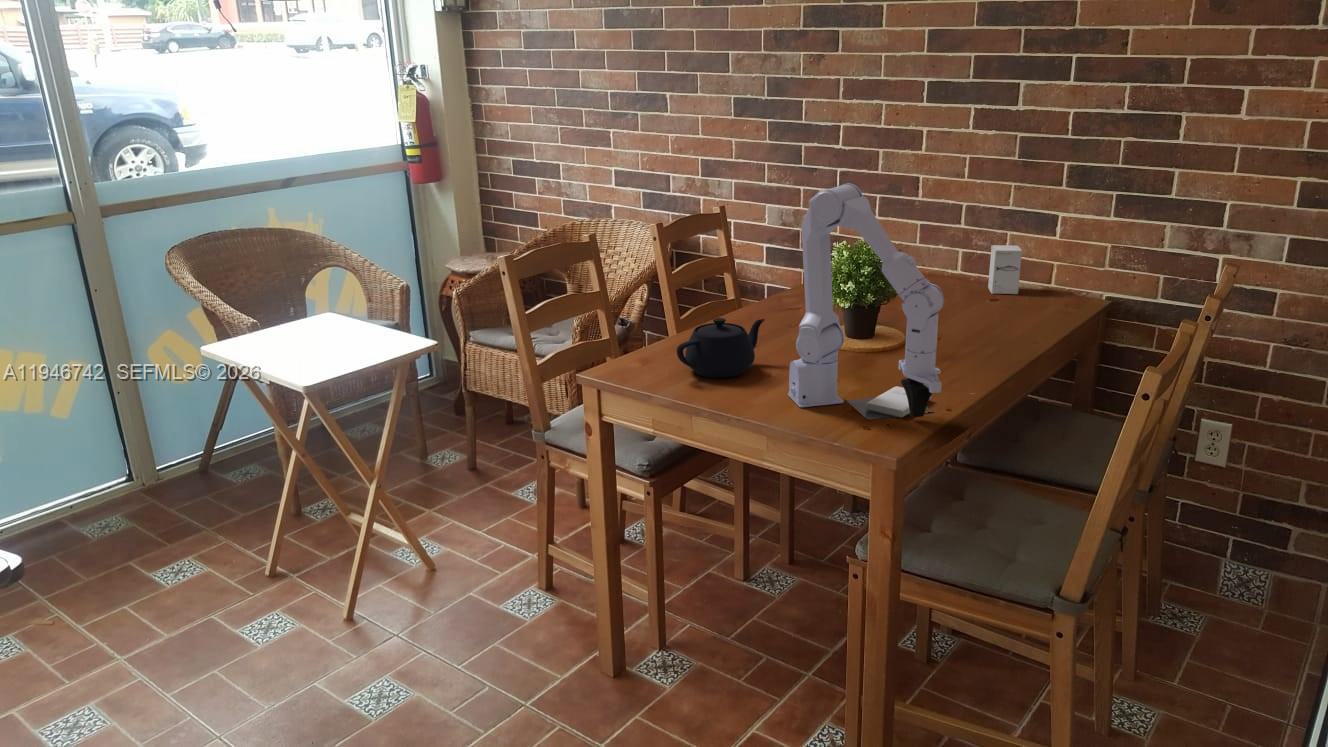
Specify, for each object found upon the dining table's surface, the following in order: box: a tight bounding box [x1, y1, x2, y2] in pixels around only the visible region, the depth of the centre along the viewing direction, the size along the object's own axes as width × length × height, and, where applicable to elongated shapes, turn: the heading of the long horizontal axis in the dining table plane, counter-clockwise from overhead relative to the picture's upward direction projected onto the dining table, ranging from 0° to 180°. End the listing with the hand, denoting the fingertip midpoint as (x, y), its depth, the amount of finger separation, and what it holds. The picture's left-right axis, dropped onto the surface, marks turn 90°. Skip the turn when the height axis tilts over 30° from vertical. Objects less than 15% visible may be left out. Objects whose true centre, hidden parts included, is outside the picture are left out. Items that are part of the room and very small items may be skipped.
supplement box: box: [987, 244, 1023, 295], centre depth 288 cm, size 7×7×13 cm
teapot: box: [676, 317, 766, 379], centre depth 229 cm, size 25×16×12 cm, turn 126°
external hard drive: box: [866, 386, 932, 418], centre depth 206 cm, size 2×8×12 cm
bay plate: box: [846, 396, 933, 421], centre depth 206 cm, size 14×11×1 cm
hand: (917, 415), depth 198 cm, fingers closed
